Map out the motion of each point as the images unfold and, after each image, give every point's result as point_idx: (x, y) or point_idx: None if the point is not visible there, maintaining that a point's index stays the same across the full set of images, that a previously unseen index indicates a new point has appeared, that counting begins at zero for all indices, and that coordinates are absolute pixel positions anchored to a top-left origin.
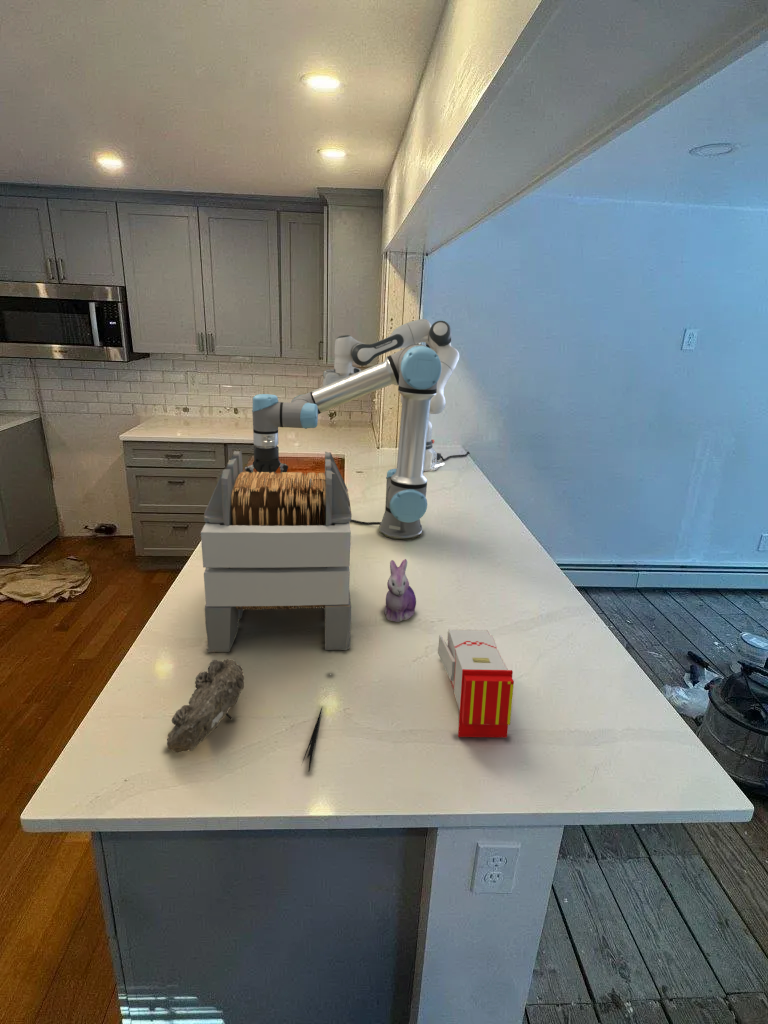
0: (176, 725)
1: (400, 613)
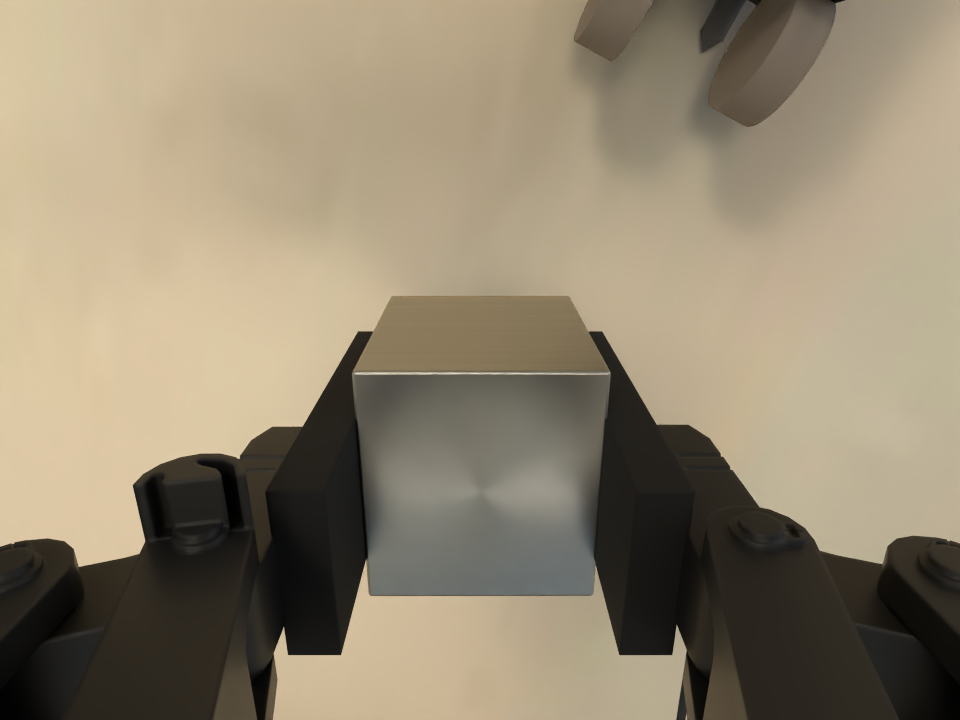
0: None
1: None
